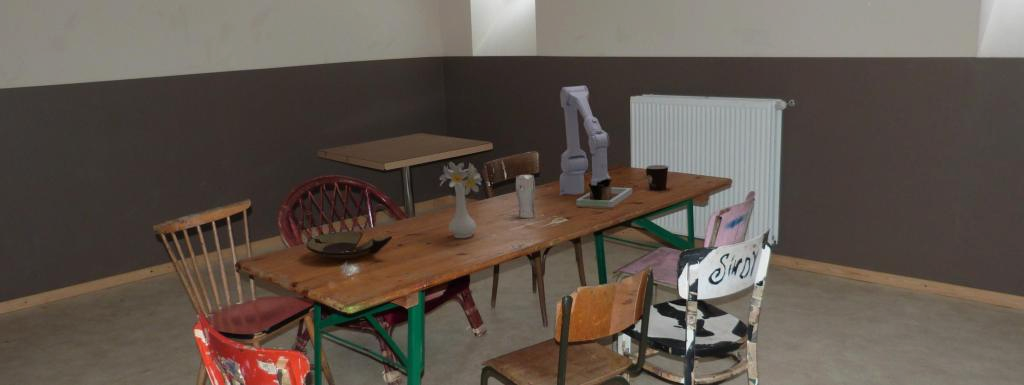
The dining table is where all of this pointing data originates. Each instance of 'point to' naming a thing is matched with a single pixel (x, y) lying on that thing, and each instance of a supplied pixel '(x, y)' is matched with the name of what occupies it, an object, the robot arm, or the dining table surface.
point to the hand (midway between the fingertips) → (600, 200)
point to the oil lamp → (345, 245)
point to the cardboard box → (603, 194)
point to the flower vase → (461, 197)
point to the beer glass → (525, 195)
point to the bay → (604, 203)
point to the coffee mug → (657, 177)
